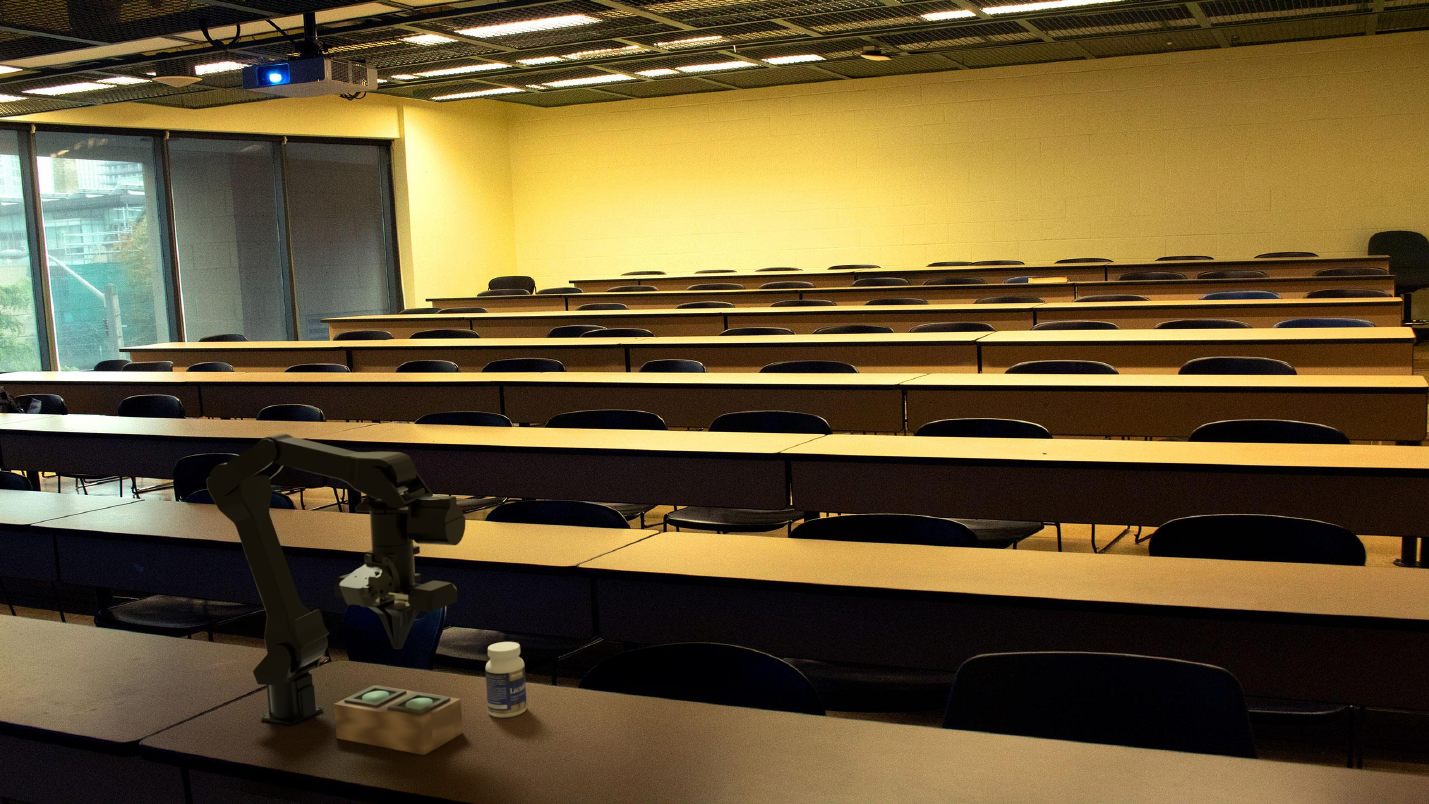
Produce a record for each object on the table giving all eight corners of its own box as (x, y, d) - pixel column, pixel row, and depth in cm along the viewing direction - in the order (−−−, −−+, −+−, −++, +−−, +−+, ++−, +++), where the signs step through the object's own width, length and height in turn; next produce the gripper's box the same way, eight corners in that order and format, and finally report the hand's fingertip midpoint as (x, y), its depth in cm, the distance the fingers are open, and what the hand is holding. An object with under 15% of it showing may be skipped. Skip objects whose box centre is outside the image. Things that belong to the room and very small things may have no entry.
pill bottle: (518, 719, 163) (514, 652, 162) (481, 718, 164) (477, 652, 163) (532, 704, 169) (528, 640, 168) (497, 703, 170) (492, 639, 169)
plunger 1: (359, 733, 160) (356, 698, 160) (377, 724, 163) (375, 689, 163) (378, 737, 159) (376, 701, 158) (396, 727, 162) (394, 692, 161)
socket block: (336, 738, 159) (333, 701, 159) (377, 717, 166) (374, 682, 166) (424, 755, 152) (421, 716, 151) (462, 733, 159) (460, 696, 159)
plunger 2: (402, 741, 157) (400, 705, 156) (420, 732, 160) (417, 696, 159) (422, 745, 155) (420, 708, 154) (440, 735, 158) (437, 699, 158)
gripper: (301, 548, 158) (308, 656, 160) (400, 561, 149) (406, 675, 151) (360, 531, 168) (366, 633, 170) (457, 543, 159) (462, 650, 161)
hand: (398, 648), depth 162 cm, fingers closed
